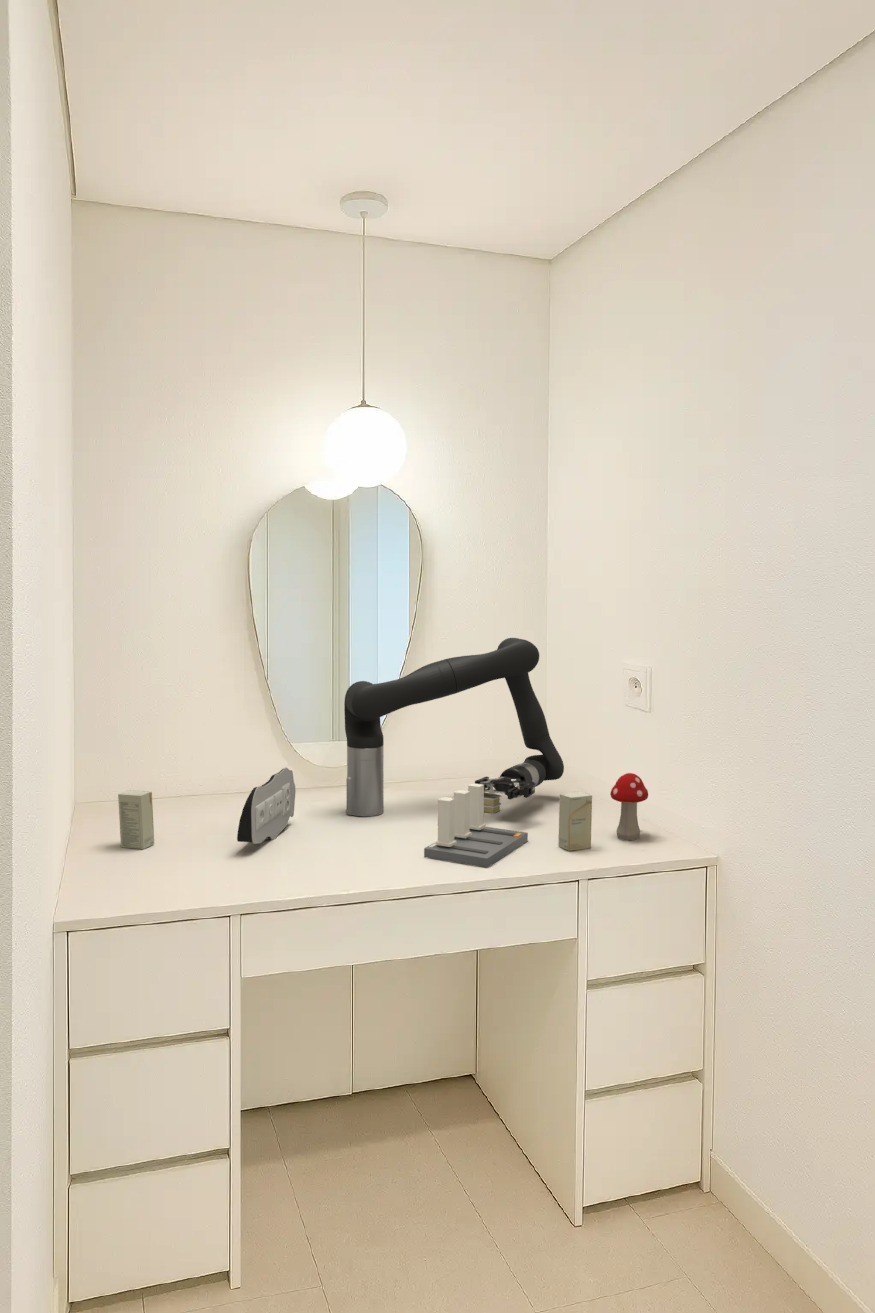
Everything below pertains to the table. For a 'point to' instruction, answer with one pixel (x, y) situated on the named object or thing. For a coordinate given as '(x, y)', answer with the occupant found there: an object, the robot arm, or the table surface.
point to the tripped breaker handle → (476, 806)
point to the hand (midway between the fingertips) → (492, 793)
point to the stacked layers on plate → (491, 802)
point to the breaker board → (469, 836)
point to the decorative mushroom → (629, 804)
